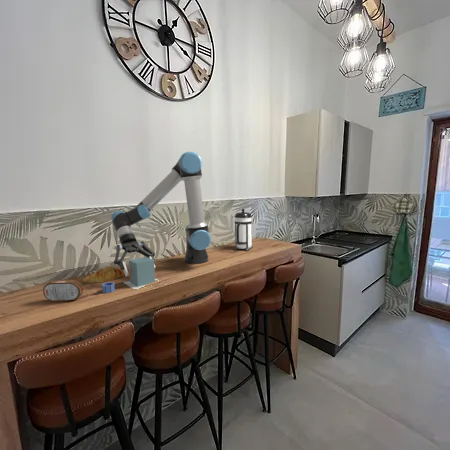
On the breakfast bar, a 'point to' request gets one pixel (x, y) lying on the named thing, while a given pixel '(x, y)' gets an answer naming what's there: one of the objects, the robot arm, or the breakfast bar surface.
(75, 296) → the tin
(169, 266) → the breakfast bar surface
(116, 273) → the croissant
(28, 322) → the breakfast bar surface
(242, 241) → the coffee press
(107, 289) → the blue hex nut
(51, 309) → the breakfast bar surface
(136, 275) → the grey-blue rectangular block
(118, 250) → the robot arm
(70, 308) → the breakfast bar surface
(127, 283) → the mat
